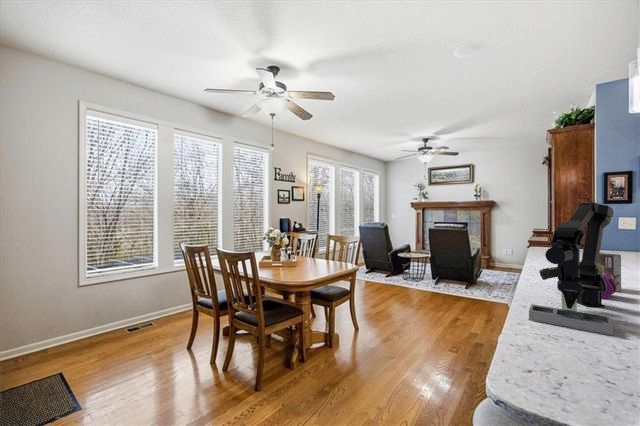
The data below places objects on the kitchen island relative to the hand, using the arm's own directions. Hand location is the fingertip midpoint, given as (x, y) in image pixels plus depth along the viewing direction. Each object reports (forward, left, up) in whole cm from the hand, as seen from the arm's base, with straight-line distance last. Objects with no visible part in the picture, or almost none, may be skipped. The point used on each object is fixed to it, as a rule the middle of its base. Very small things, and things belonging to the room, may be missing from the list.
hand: (569, 305), depth 105 cm
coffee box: (-39, -32, -3) cm, 51 cm away
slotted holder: (+8, +11, -2) cm, 13 cm away
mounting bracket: (-24, -24, -3) cm, 34 cm away
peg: (0, 0, -3) cm, 3 cm away
